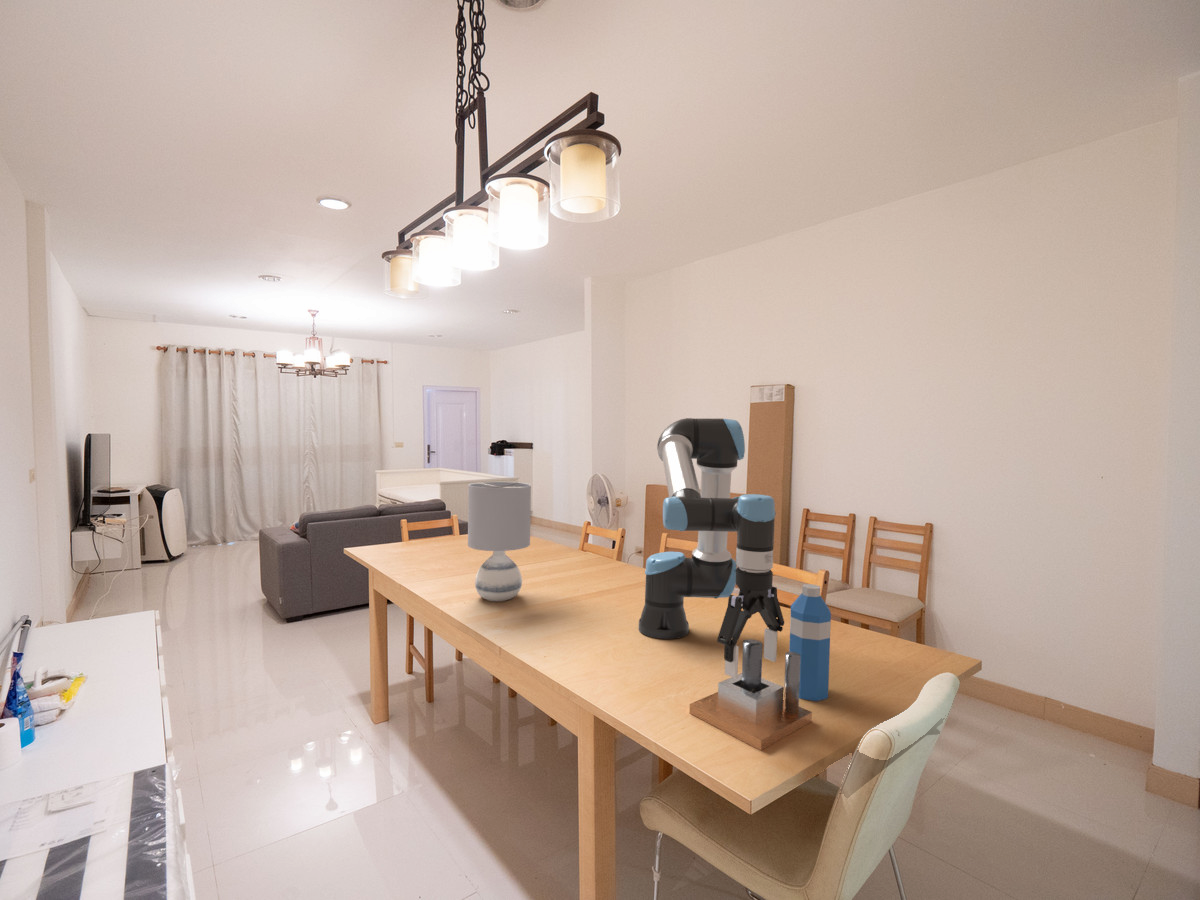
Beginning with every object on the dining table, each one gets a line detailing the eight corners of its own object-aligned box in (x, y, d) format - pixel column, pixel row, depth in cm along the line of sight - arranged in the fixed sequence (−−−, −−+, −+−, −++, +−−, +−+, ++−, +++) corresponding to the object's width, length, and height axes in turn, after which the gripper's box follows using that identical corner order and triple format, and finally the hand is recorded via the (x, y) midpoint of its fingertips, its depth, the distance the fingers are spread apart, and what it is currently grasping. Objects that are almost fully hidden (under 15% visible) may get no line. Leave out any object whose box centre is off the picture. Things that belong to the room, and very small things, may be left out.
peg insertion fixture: (689, 713, 123) (691, 648, 122) (741, 690, 134) (742, 631, 133) (760, 750, 109) (763, 678, 108) (811, 721, 120) (813, 655, 120)
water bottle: (780, 683, 138) (783, 580, 137) (817, 682, 139) (821, 580, 138) (796, 701, 129) (800, 592, 128) (836, 700, 130) (840, 591, 129)
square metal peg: (737, 706, 122) (739, 642, 121) (748, 701, 124) (750, 637, 124) (752, 714, 119) (754, 647, 118) (764, 708, 121) (766, 643, 121)
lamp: (524, 608, 192) (526, 488, 190) (460, 606, 192) (461, 487, 190) (532, 590, 213) (534, 482, 212) (475, 588, 213) (476, 481, 212)
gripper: (731, 581, 109) (728, 690, 110) (802, 563, 125) (799, 658, 126) (701, 573, 115) (698, 676, 116) (773, 557, 131) (770, 648, 132)
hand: (751, 667), depth 121 cm, fingers open, 13 cm apart
